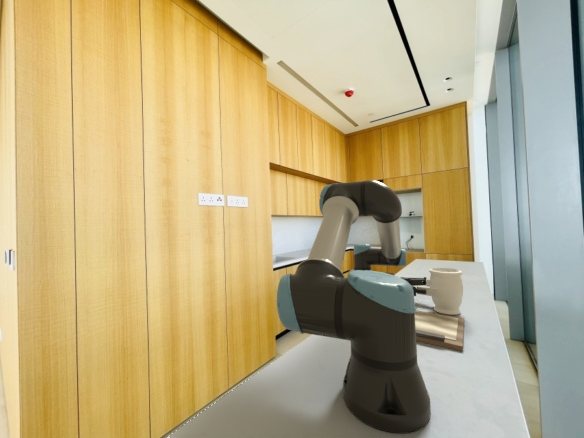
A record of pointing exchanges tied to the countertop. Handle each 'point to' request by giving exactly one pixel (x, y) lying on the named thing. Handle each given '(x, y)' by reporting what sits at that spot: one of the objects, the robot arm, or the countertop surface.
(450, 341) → the clipboard
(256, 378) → the countertop surface
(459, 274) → the jar
